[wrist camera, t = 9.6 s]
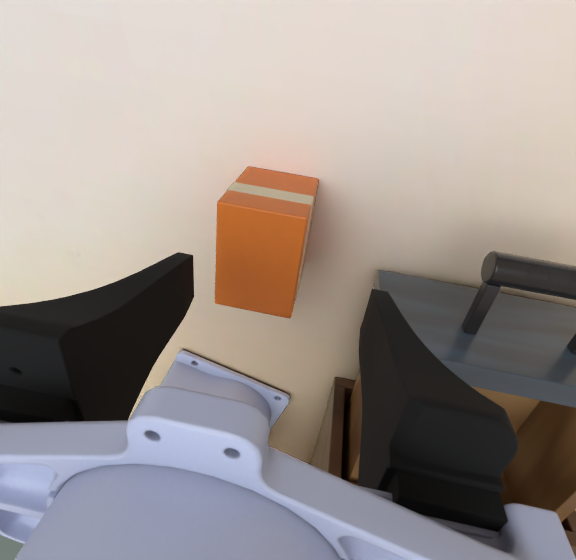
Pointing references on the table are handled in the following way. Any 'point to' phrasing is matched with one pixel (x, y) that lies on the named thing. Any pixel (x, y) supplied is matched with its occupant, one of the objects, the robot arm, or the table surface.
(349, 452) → the drawer
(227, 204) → the snack box
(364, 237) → the table surface
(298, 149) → the table surface
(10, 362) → the robot arm
